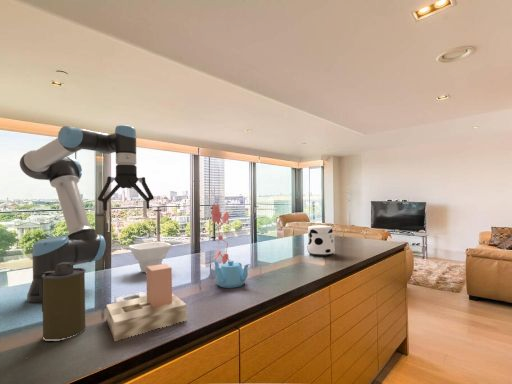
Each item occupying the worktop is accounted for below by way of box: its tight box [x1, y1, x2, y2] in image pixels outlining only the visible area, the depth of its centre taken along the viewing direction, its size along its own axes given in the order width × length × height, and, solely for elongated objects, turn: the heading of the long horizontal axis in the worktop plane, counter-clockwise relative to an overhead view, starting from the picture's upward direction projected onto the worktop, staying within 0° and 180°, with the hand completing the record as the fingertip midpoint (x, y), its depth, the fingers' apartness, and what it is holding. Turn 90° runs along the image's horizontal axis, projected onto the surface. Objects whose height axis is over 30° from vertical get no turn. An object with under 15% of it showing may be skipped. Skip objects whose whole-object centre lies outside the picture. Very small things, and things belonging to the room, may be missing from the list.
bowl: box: [128, 241, 172, 273], centre depth 147 cm, size 19×19×14 cm
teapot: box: [212, 258, 251, 289], centre depth 121 cm, size 15×15×10 cm
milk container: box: [306, 224, 336, 257], centre depth 178 cm, size 17×17×18 cm
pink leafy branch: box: [207, 203, 231, 268], centre depth 161 cm, size 15×26×35 cm, turn 32°
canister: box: [41, 262, 87, 339], centre depth 80 cm, size 11×10×20 cm
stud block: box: [145, 263, 173, 307], centre depth 89 cm, size 6×7×14 cm
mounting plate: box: [106, 292, 188, 342], centre depth 86 cm, size 20×16×5 cm
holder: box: [114, 291, 147, 303], centre depth 98 cm, size 10×10×3 cm
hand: (127, 218), depth 110 cm, fingers open, 13 cm apart
